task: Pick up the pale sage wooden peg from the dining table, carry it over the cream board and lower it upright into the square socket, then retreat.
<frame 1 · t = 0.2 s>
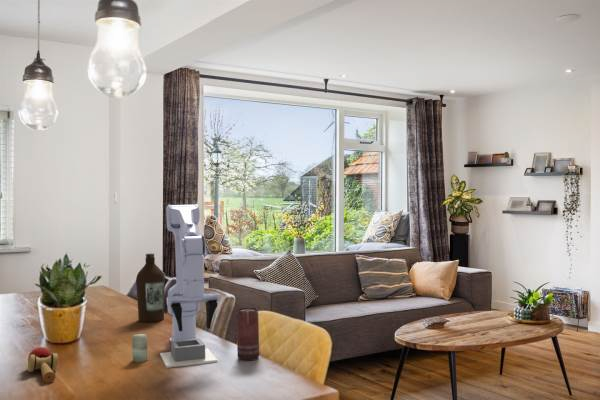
hand: (194, 329, 163), 10 cm above the table, fingers open, 7 cm apart
peg: (140, 360, 170), on the table
kendama: (44, 375, 158), on the table
can: (248, 359, 169), on the table
socket: (188, 358, 170), on the table
olive oil: (151, 320, 225), on the table
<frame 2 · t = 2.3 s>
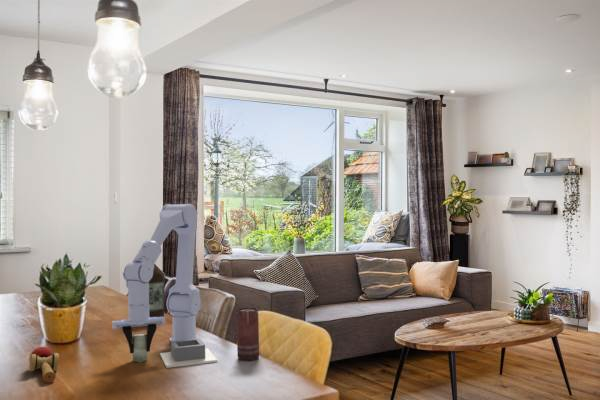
hand: (139, 351, 170), 2 cm above the table, fingers closed on peg, 4 cm apart
peg: (139, 360, 170), on the table, touching gripper
everything else where it was.
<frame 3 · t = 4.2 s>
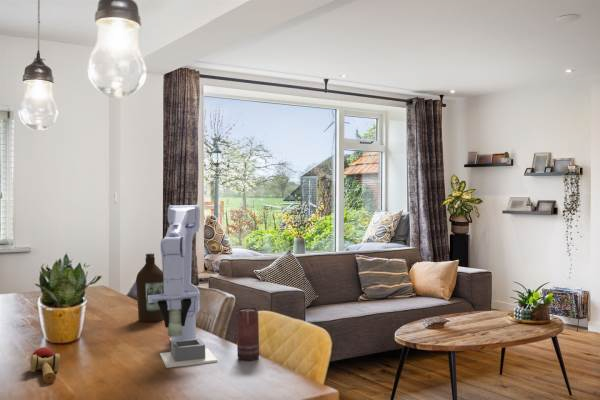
hand: (174, 326, 170), 9 cm above the table, fingers closed on peg, 4 cm apart
peg: (174, 334, 170), point 7 cm above the table, touching gripper
everything else where it was.
when the fingers open (5 cm above the table, at t = 5.7 s): peg drops 2 cm, resting on socket.
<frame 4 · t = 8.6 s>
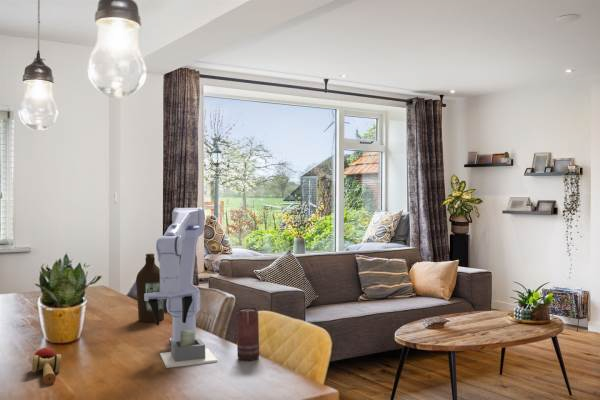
hand: (170, 323, 174), 9 cm above the table, fingers open, 7 cm apart
peg: (187, 356, 170), point 1 cm above the table, touching socket
at the end: peg 0.2 cm off-centre on the socket, point 0.7 cm above the socket's base; peg tilted 2°; the gripper is holding nothing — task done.
